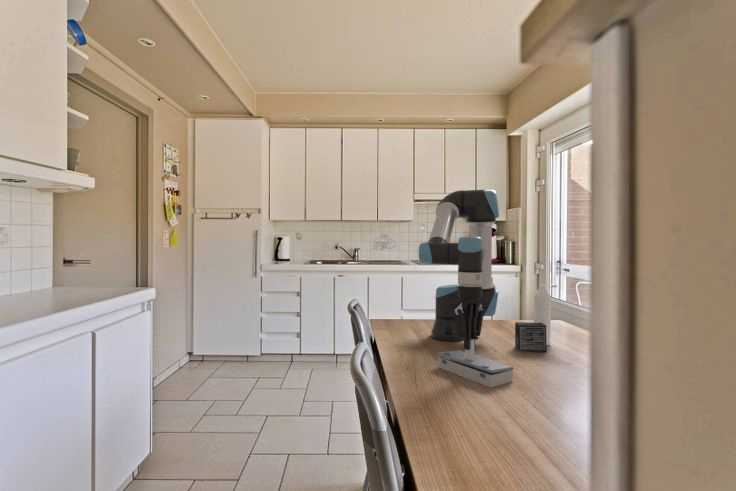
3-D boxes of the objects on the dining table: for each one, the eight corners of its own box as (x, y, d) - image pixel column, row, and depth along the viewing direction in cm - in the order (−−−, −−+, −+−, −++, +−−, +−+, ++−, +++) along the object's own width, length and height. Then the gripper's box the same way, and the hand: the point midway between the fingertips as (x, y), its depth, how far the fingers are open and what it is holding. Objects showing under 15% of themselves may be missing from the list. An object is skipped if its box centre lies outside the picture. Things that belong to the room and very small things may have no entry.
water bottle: (534, 345, 166) (535, 284, 166) (533, 341, 172) (533, 283, 172) (557, 346, 164) (558, 285, 163) (555, 343, 170) (556, 284, 169)
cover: (438, 354, 135) (438, 351, 135) (459, 352, 141) (460, 349, 141) (491, 373, 117) (491, 369, 117) (513, 369, 123) (513, 365, 123)
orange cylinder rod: (446, 367, 136) (447, 358, 136) (453, 366, 138) (453, 357, 138) (469, 376, 128) (470, 366, 128) (475, 374, 129) (476, 365, 130)
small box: (541, 348, 162) (541, 322, 162) (547, 352, 155) (547, 325, 155) (514, 347, 163) (514, 321, 163) (518, 351, 156) (519, 324, 156)
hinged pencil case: (437, 367, 135) (437, 357, 135) (459, 362, 141) (459, 352, 141) (490, 388, 117) (490, 376, 117) (512, 381, 123) (512, 369, 123)
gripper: (464, 287, 121) (464, 365, 121) (492, 285, 128) (492, 358, 128) (446, 285, 127) (446, 359, 127) (474, 283, 134) (474, 353, 134)
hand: (469, 359), depth 128 cm, fingers closed
